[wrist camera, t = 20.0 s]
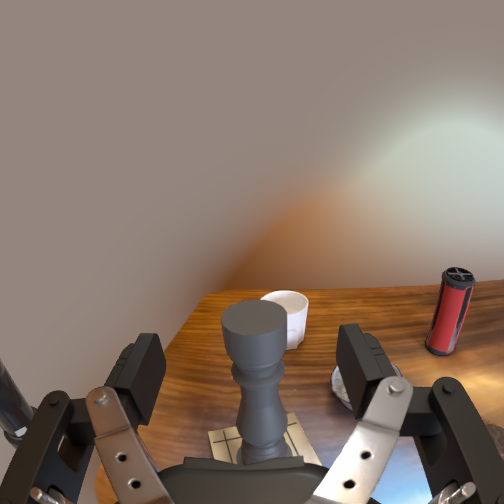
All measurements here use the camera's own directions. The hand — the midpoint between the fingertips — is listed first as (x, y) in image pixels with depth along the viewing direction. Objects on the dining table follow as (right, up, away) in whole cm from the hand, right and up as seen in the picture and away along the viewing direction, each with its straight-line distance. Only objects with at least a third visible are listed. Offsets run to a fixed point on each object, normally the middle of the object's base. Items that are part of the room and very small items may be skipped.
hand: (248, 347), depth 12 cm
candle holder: (+2, -25, +21) cm, 33 cm away
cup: (+7, -16, +50) cm, 53 cm away
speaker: (+42, -17, +40) cm, 60 cm away
